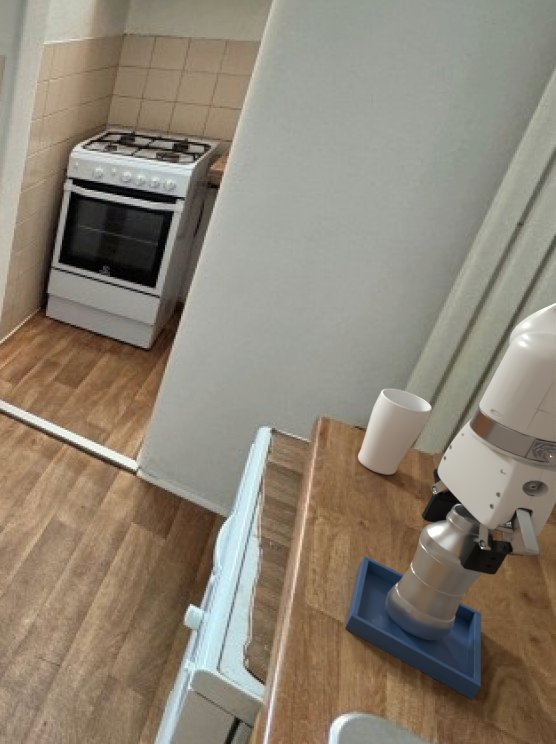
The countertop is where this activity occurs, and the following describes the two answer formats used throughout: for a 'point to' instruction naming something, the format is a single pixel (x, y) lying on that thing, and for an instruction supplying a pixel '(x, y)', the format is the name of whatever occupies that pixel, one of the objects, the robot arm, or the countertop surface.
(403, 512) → the countertop surface
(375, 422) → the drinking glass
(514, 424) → the robot arm
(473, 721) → the countertop surface
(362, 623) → the blue tray
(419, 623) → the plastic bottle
